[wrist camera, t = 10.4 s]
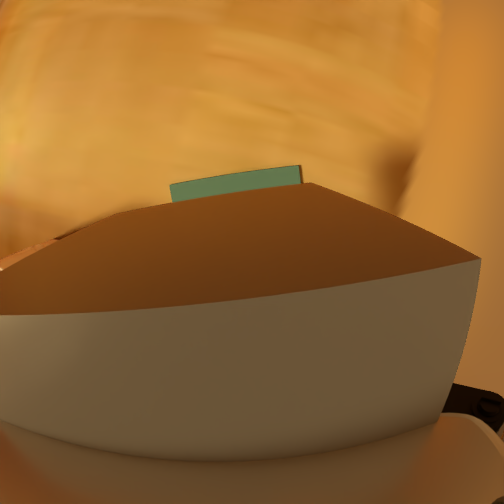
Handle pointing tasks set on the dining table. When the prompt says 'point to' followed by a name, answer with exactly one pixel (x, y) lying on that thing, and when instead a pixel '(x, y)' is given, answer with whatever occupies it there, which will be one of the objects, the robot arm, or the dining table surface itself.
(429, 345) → the grey rectangular box
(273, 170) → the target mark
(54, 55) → the dining table surface
